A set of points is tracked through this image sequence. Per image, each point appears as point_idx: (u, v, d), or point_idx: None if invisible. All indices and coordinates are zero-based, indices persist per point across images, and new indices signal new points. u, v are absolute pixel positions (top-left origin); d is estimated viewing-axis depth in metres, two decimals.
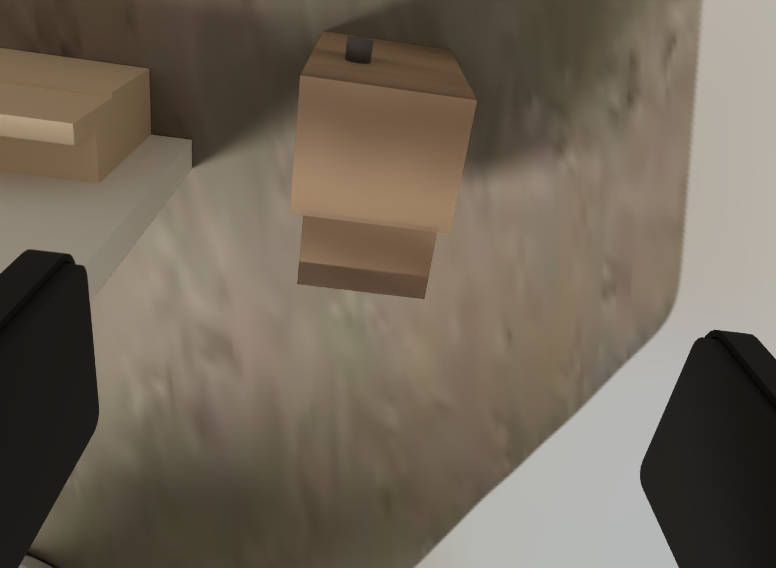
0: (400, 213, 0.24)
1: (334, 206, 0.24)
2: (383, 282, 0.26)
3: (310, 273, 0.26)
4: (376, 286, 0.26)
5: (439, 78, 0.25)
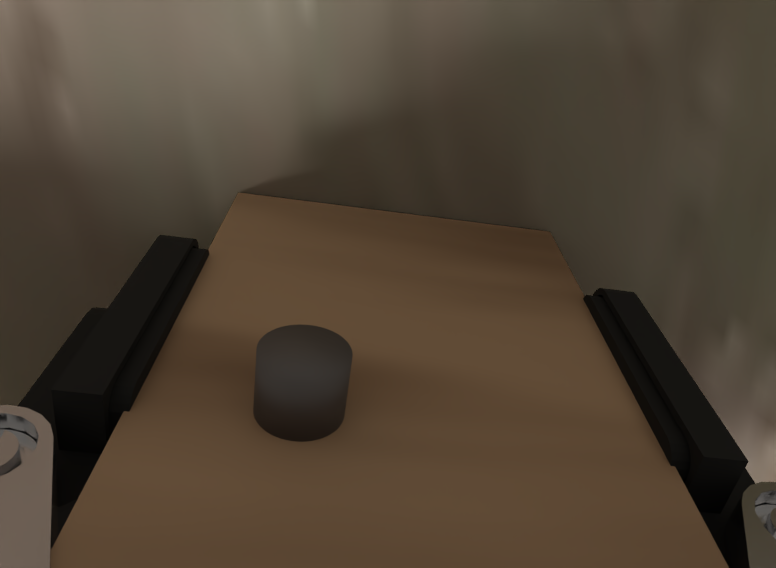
0: None
1: None
2: None
3: None
4: None
5: (605, 524, 0.06)
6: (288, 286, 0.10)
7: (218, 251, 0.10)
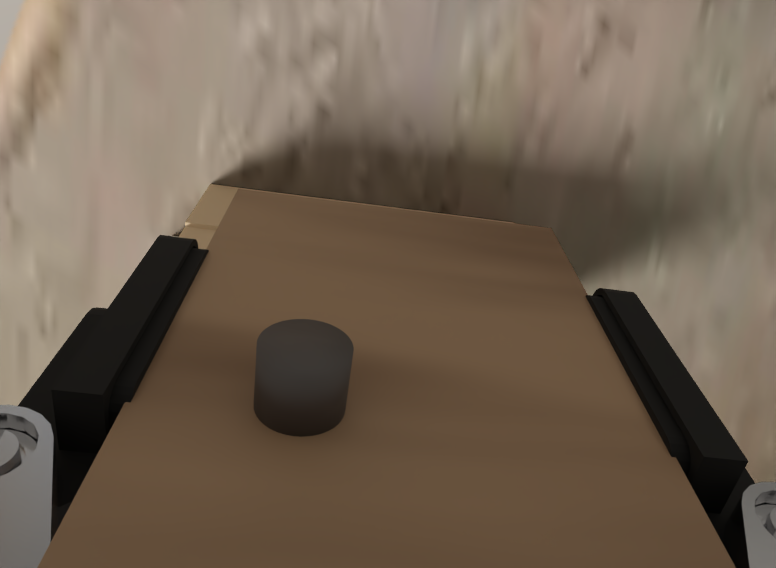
0: None
1: None
2: None
3: None
4: None
5: (608, 519, 0.06)
6: (288, 282, 0.10)
7: (218, 247, 0.10)
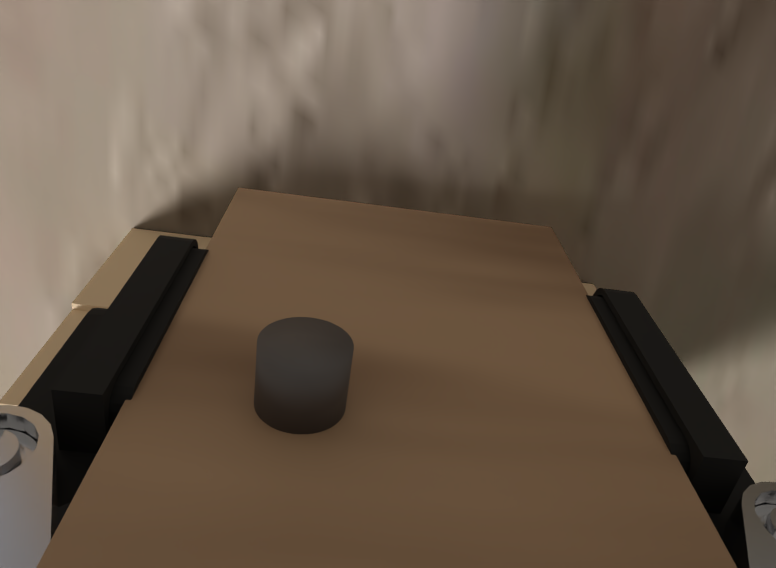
0: None
1: None
2: None
3: None
4: None
5: (608, 517, 0.06)
6: (289, 280, 0.10)
7: (218, 245, 0.10)
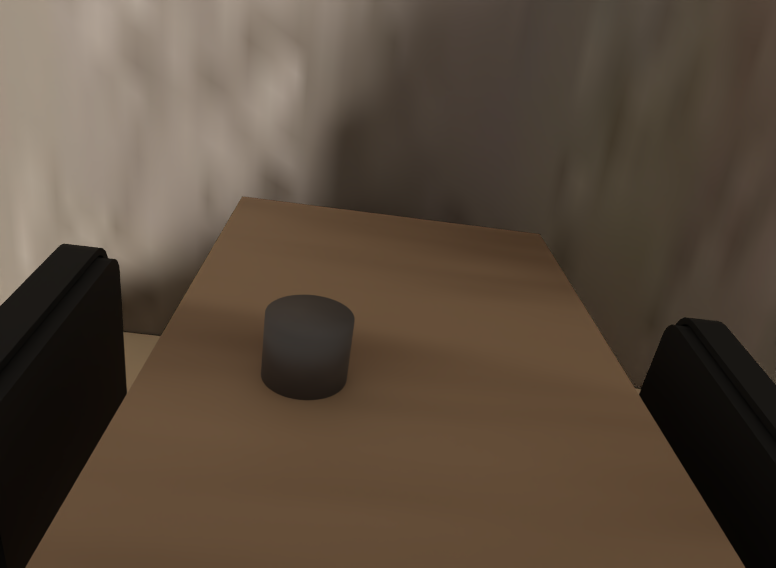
0: None
1: None
2: None
3: None
4: None
5: (592, 472, 0.07)
6: (291, 274, 0.10)
7: (224, 244, 0.11)
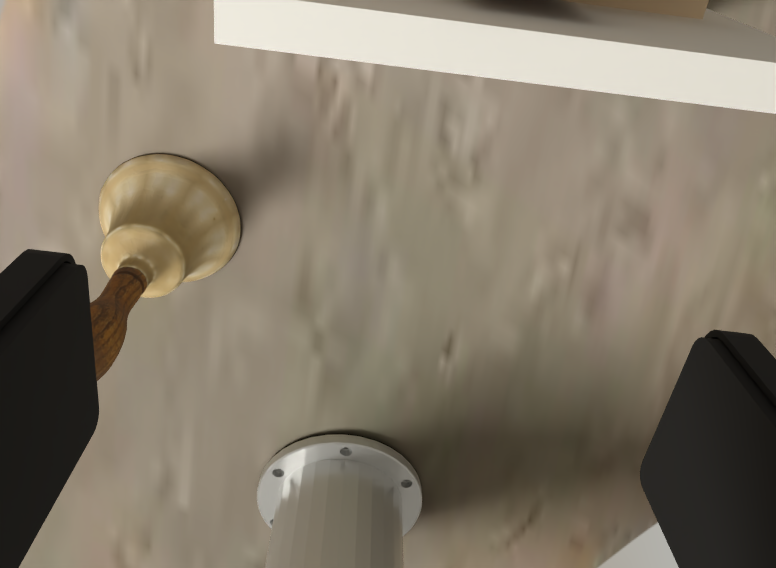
0: None
1: None
2: None
3: None
4: None
5: None
6: None
7: None
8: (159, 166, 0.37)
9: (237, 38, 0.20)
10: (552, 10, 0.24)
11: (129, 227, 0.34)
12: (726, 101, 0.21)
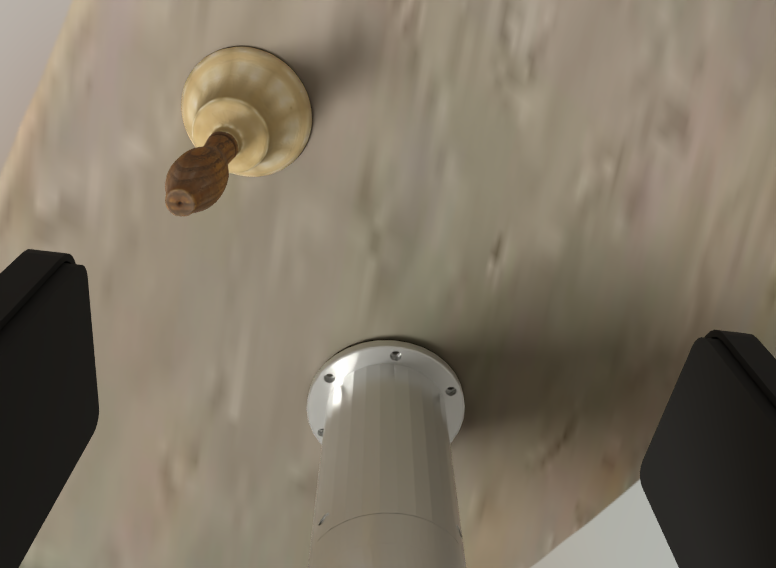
0: None
1: None
2: None
3: None
4: None
5: None
6: None
7: None
8: (243, 56, 0.40)
9: None
10: None
11: (221, 100, 0.37)
12: None
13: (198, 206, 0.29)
